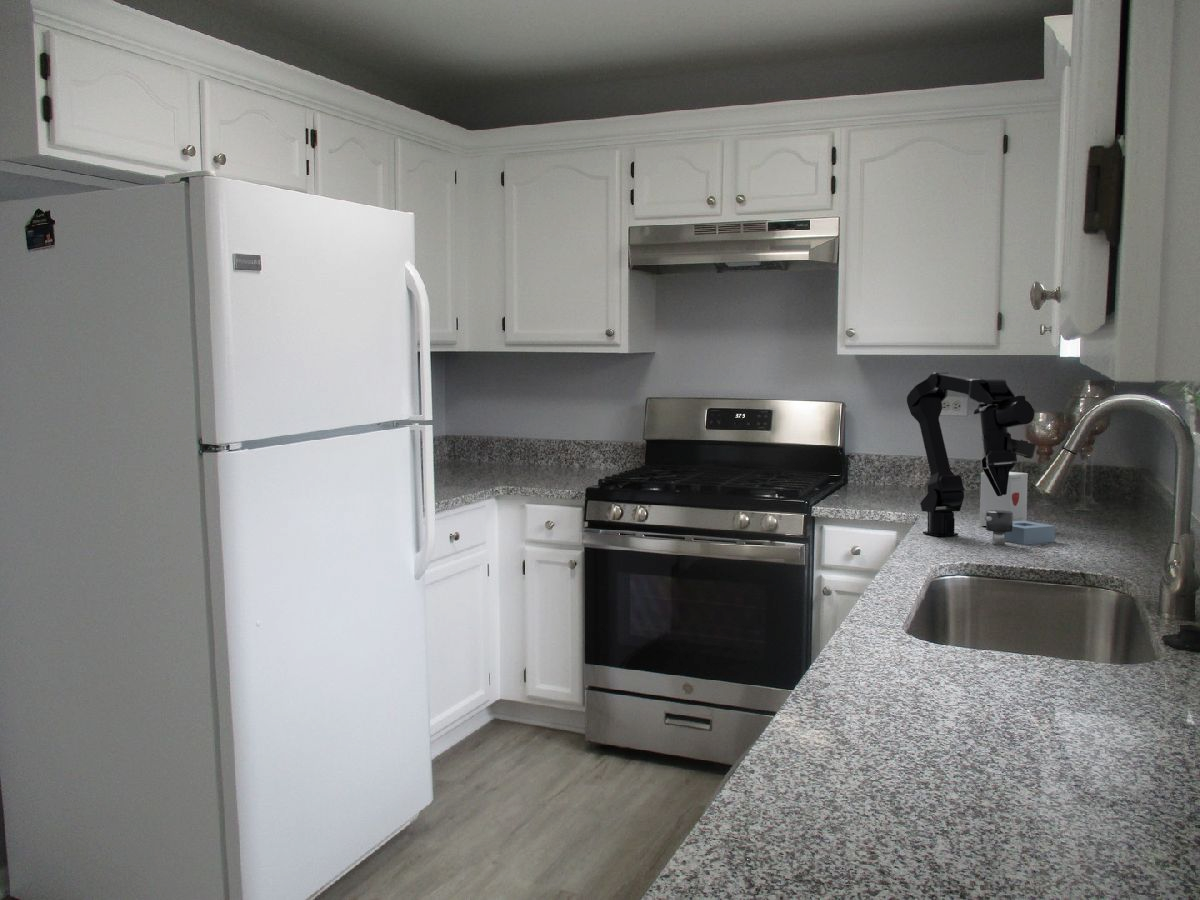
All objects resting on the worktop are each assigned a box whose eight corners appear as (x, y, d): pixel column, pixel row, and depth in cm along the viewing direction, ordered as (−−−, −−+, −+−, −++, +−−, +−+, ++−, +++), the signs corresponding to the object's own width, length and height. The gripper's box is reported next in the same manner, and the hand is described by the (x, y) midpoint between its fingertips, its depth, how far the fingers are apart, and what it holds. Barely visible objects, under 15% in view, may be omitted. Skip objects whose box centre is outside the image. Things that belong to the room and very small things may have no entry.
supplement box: (1009, 530, 254) (1010, 474, 253) (978, 526, 261) (979, 472, 260) (1027, 527, 259) (1029, 472, 258) (997, 523, 267) (998, 470, 265)
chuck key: (995, 547, 228) (996, 514, 228) (976, 543, 234) (977, 511, 233) (1020, 545, 231) (1021, 512, 231) (1002, 541, 237) (1002, 509, 236)
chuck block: (993, 538, 241) (993, 522, 241) (1023, 535, 245) (1023, 520, 244) (1023, 544, 232) (1024, 528, 231) (1054, 541, 235) (1055, 525, 235)
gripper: (1037, 422, 216) (1044, 491, 214) (1025, 431, 234) (1032, 494, 232) (984, 427, 219) (991, 495, 218) (977, 435, 237) (984, 497, 235)
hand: (1001, 495), depth 226 cm, fingers open, 9 cm apart
